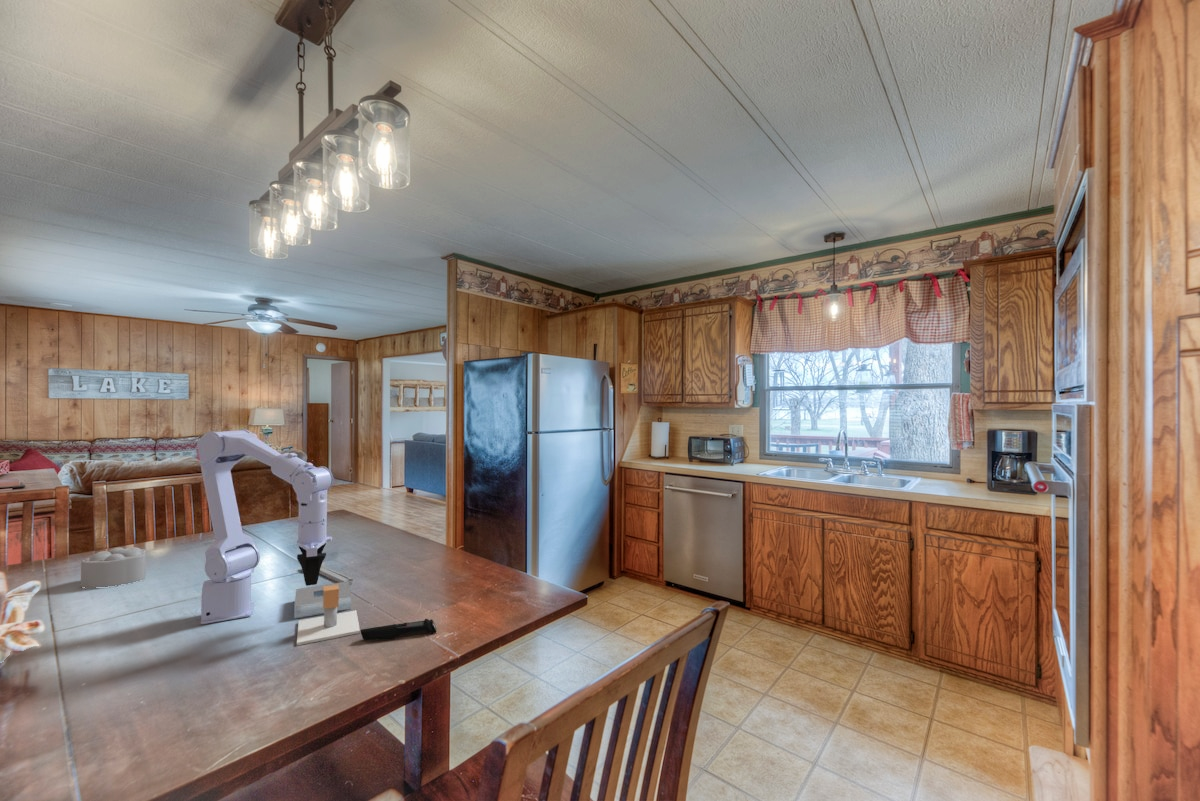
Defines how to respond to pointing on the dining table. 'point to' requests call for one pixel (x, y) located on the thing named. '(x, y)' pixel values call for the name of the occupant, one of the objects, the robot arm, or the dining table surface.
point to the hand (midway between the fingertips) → (311, 579)
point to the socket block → (319, 600)
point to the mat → (316, 631)
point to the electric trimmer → (398, 630)
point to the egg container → (113, 567)
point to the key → (330, 605)
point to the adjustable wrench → (335, 575)
